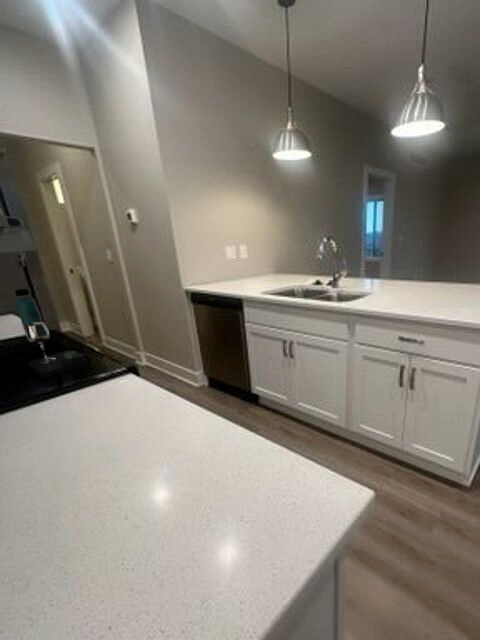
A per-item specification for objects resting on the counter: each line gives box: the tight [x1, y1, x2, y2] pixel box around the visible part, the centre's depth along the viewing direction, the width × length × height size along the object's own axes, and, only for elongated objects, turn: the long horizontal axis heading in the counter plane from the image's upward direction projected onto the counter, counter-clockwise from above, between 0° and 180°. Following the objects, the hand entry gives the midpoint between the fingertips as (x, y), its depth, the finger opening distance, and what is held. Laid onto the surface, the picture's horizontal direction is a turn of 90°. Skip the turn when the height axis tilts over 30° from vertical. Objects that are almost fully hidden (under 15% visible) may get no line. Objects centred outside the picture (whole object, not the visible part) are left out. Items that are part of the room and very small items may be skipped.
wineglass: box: [24, 321, 56, 363], centre depth 106 cm, size 6×6×12 cm
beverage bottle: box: [14, 288, 44, 332], centre depth 130 cm, size 6×7×20 cm
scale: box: [27, 350, 89, 379], centre depth 108 cm, size 12×16×3 cm
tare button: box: [64, 350, 78, 359], centre depth 106 cm, size 3×3×2 cm
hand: (4, 268), depth 109 cm, fingers open, 8 cm apart
